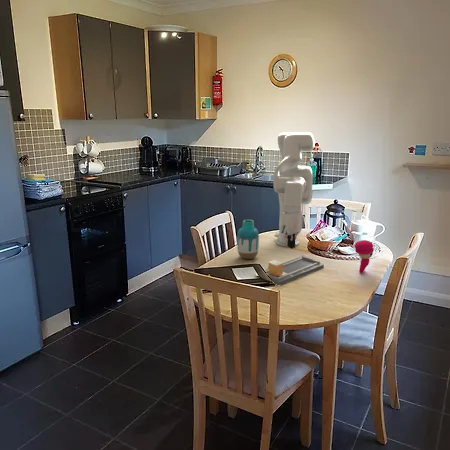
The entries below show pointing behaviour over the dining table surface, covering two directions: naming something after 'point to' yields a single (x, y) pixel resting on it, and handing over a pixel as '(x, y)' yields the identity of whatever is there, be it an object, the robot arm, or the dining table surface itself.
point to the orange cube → (275, 267)
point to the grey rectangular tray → (295, 269)
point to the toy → (364, 253)
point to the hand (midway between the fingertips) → (291, 247)
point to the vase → (248, 240)
